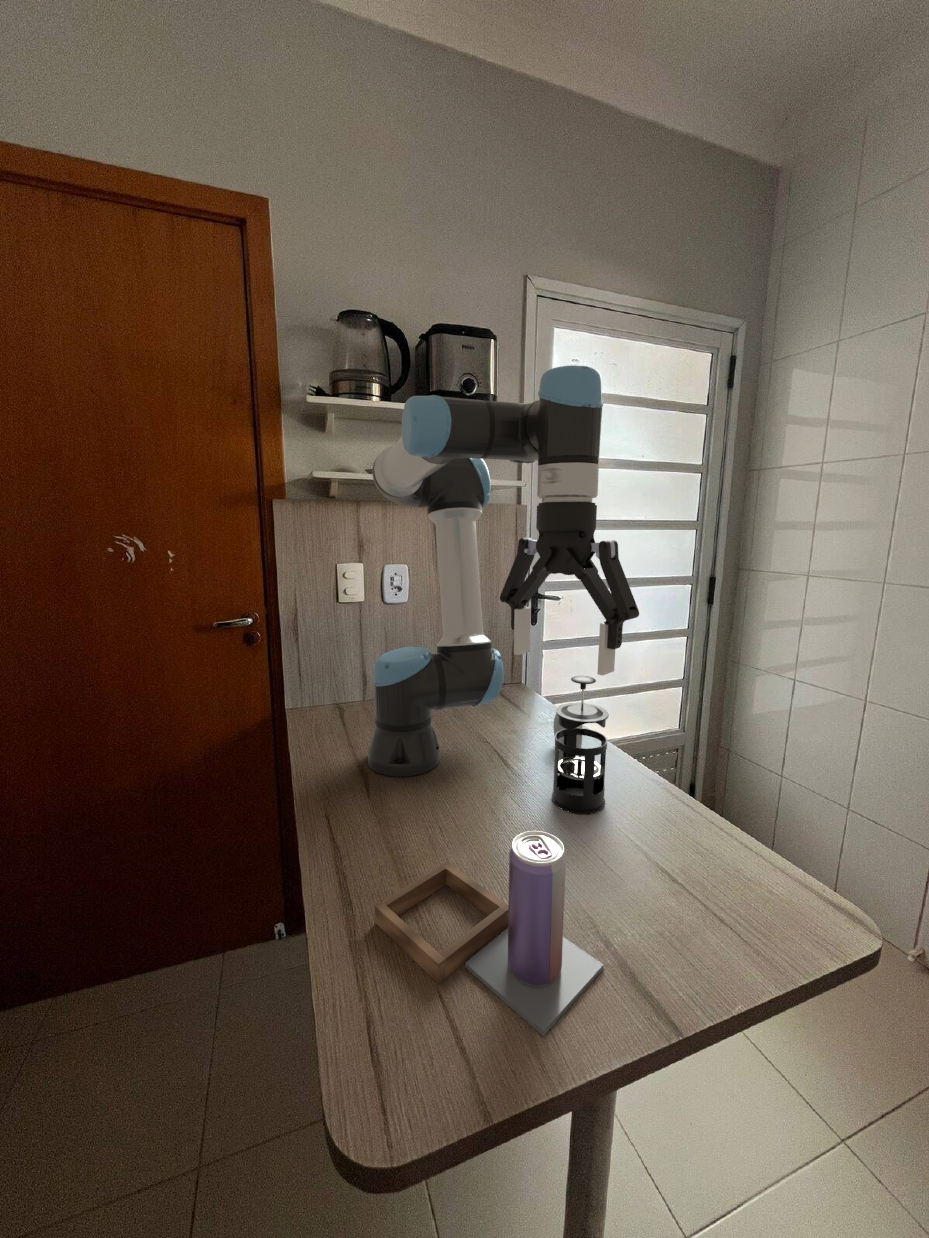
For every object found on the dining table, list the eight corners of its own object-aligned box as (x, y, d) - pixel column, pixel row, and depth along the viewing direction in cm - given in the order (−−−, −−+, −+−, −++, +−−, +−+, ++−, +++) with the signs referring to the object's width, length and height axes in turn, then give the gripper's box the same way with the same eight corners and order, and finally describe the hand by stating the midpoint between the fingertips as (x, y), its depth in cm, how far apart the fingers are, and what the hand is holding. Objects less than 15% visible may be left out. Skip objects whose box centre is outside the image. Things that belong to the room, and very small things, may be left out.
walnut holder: (375, 922, 65) (374, 905, 64) (446, 877, 73) (446, 861, 72) (438, 983, 56) (438, 964, 56) (511, 924, 64) (511, 906, 64)
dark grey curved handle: (550, 744, 116) (551, 702, 114) (564, 742, 116) (566, 700, 115) (569, 764, 106) (570, 718, 104) (584, 762, 107) (586, 717, 105)
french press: (615, 814, 88) (623, 686, 84) (562, 819, 87) (567, 688, 82) (589, 780, 100) (595, 666, 95) (542, 784, 98) (546, 668, 94)
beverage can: (523, 998, 54) (526, 870, 51) (498, 954, 59) (500, 836, 56) (572, 979, 56) (577, 855, 53) (543, 938, 61) (547, 824, 58)
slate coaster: (465, 967, 58) (465, 962, 58) (526, 915, 66) (526, 911, 66) (543, 1036, 50) (543, 1031, 50) (603, 969, 58) (603, 964, 58)
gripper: (476, 502, 72) (475, 650, 76) (645, 497, 54) (632, 690, 58) (511, 503, 77) (509, 642, 81) (676, 498, 59) (663, 676, 63)
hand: (560, 662), depth 69 cm, fingers open, 13 cm apart
